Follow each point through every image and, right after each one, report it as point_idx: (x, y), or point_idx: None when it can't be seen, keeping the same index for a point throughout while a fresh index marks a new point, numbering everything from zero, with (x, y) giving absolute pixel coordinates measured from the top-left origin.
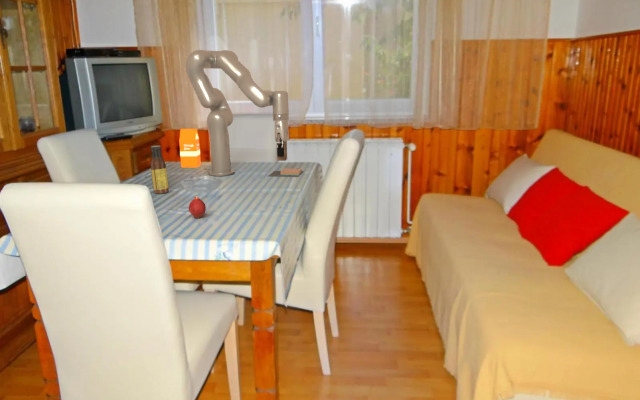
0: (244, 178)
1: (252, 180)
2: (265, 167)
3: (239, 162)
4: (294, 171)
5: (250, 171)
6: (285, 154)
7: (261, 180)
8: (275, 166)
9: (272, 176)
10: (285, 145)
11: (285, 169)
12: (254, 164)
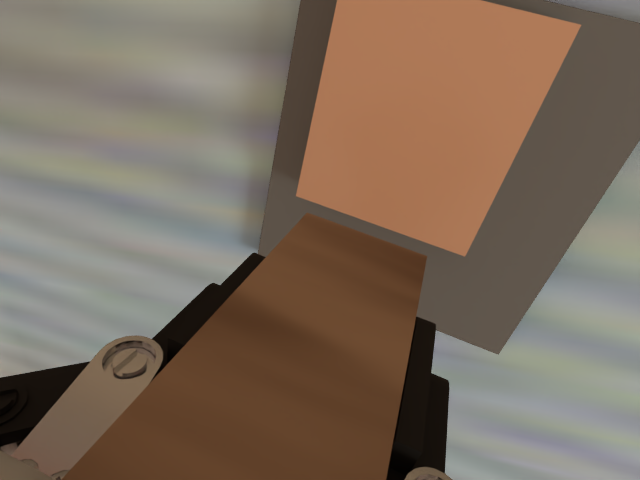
0: (456, 467)
1: (557, 450)
2: (102, 283)
3: (11, 375)
4: (510, 91)
5: None
6: (388, 301)
7: (589, 402)
8: (59, 216)
9: (520, 319)
10: (312, 443)
11: (349, 190)
12: (35, 323)
